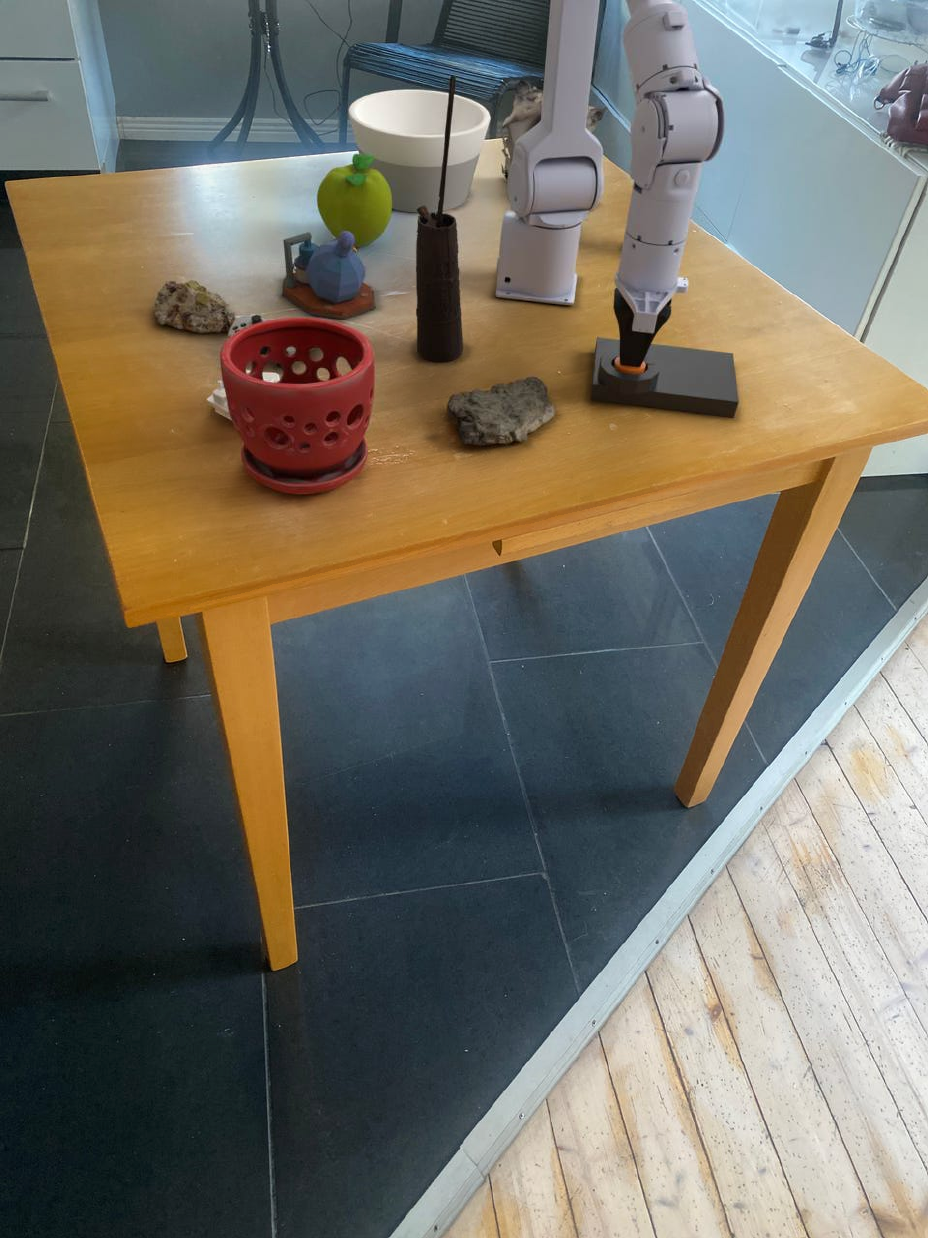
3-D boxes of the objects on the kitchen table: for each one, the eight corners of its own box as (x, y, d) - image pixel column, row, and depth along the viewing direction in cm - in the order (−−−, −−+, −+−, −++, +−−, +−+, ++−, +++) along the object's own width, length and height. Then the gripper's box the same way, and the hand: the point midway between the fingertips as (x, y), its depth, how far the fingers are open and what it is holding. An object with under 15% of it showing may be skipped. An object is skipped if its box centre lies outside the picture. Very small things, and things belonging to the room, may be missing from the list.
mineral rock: (128, 297, 105) (179, 255, 108) (143, 327, 109) (191, 286, 112) (197, 332, 101) (248, 288, 104) (210, 362, 105) (258, 319, 108)
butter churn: (378, 332, 107) (374, 53, 87) (457, 321, 110) (471, 48, 90) (404, 373, 101) (406, 84, 81) (487, 360, 104) (508, 77, 84)
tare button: (611, 381, 98) (614, 368, 97) (612, 366, 100) (615, 352, 99) (642, 385, 98) (645, 372, 97) (643, 369, 100) (645, 356, 99)
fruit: (398, 231, 126) (398, 152, 119) (381, 261, 120) (380, 179, 112) (331, 222, 127) (328, 143, 120) (311, 252, 120) (306, 170, 113)
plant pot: (402, 477, 88) (403, 362, 80) (275, 524, 83) (262, 405, 74) (332, 409, 96) (326, 297, 87) (211, 449, 90) (192, 333, 81)
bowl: (334, 173, 139) (330, 93, 131) (456, 162, 145) (459, 84, 137) (375, 227, 127) (374, 142, 119) (506, 212, 132) (513, 130, 125)
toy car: (202, 414, 94) (195, 377, 91) (261, 382, 99) (257, 345, 96) (235, 432, 92) (230, 395, 89) (294, 399, 97) (291, 362, 94)
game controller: (325, 335, 104) (305, 316, 98) (312, 383, 104) (291, 367, 98) (246, 317, 106) (222, 298, 100) (233, 364, 106) (208, 347, 100)
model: (390, 303, 112) (390, 224, 105) (327, 326, 107) (323, 246, 101) (329, 265, 118) (325, 189, 111) (266, 286, 113) (259, 208, 107)
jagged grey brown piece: (598, 203, 136) (613, 104, 127) (583, 212, 134) (597, 111, 125) (511, 175, 142) (520, 78, 133) (495, 183, 140) (502, 85, 130)
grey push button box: (589, 405, 99) (594, 375, 96) (594, 352, 106) (599, 323, 104) (734, 423, 98) (743, 393, 95) (728, 368, 106) (736, 339, 103)
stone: (529, 385, 101) (532, 361, 99) (578, 426, 96) (582, 402, 94) (415, 422, 95) (416, 397, 93) (461, 468, 90) (463, 442, 88)
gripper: (701, 271, 83) (669, 405, 93) (696, 206, 93) (668, 333, 103) (621, 262, 83) (597, 396, 93) (625, 198, 94) (603, 325, 103)
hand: (630, 362), depth 98 cm, fingers closed, pressing on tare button
